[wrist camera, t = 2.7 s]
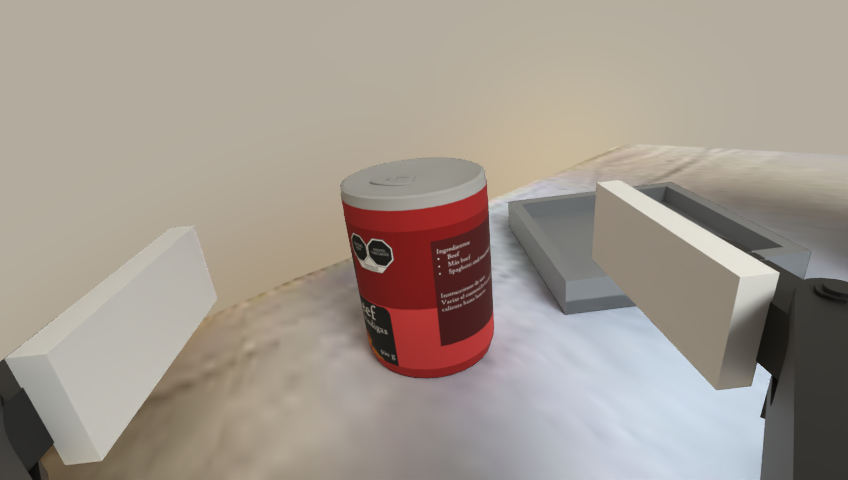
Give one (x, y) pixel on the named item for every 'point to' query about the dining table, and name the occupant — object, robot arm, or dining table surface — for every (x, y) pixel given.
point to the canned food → (422, 262)
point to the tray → (573, 241)
